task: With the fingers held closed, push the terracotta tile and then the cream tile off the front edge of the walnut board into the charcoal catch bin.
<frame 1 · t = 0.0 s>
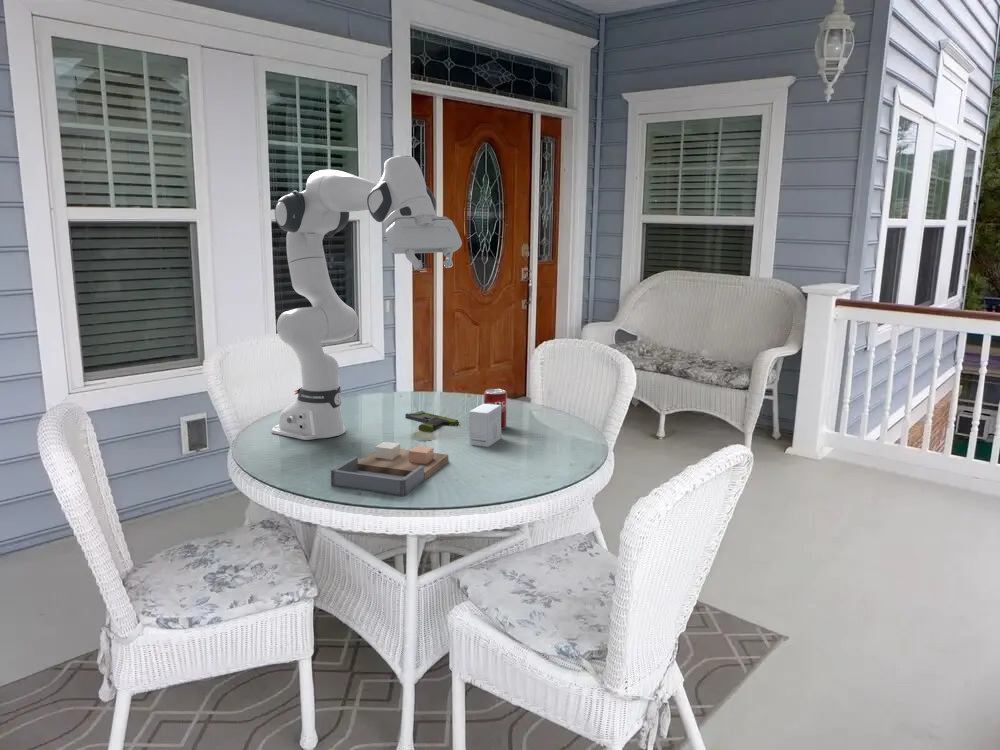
hand: (434, 267, 189), 54 cm above the table, tool tilted 30°, fingers open, 8 cm apart
skincare box: (485, 442, 234), on the table
terracotta tile: (421, 460, 209), point 2 cm above the table, touching walnut board
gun: (425, 424, 253), on the table
walnut board: (402, 466, 210), on the table
soda can: (494, 428, 249), on the table
catch bin: (378, 483, 197), on the table
cream tile: (387, 455, 212), point 2 cm above the table, touching walnut board
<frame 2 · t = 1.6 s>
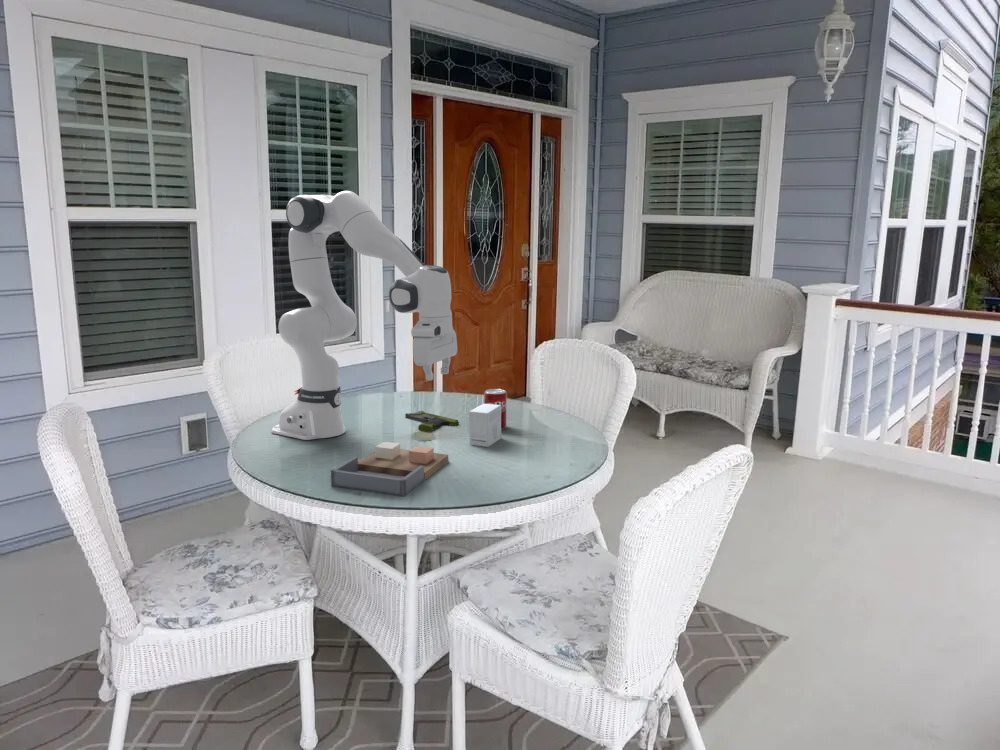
hand: (437, 377, 211), 24 cm above the table, tool pointing down, fingers open, 8 cm apart
nothing on the table moved.
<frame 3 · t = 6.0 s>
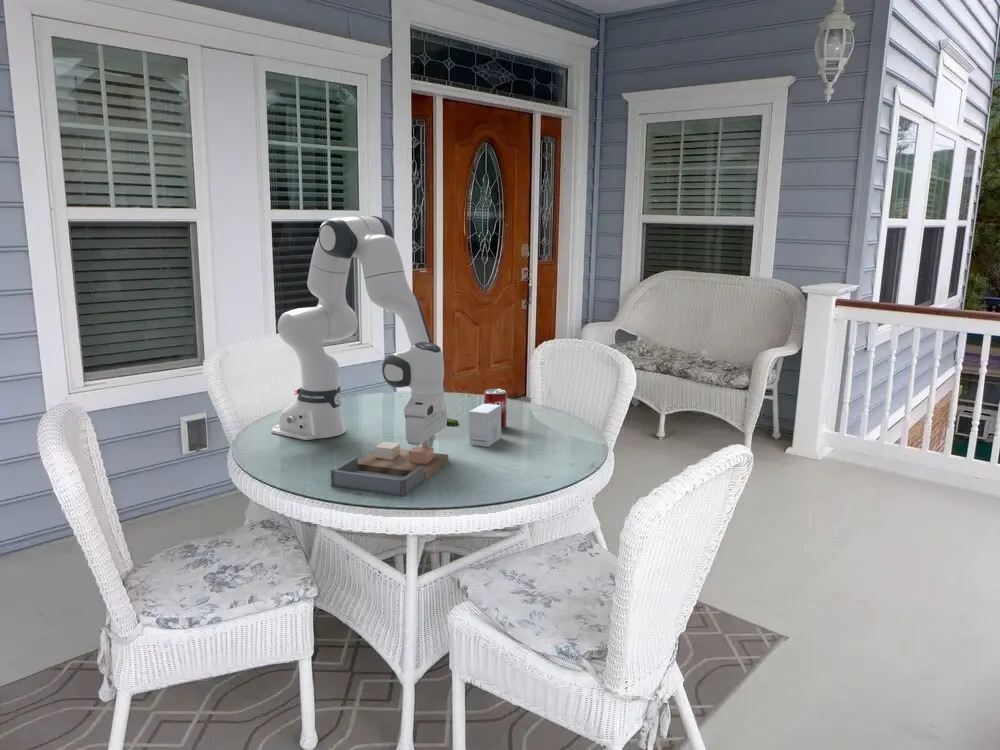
hand: (427, 451, 213), 3 cm above the table, tool pointing down, fingers closed
terracotta tile: (421, 460, 209), point 2 cm above the table, touching gripper, walnut board
everything else where it was.
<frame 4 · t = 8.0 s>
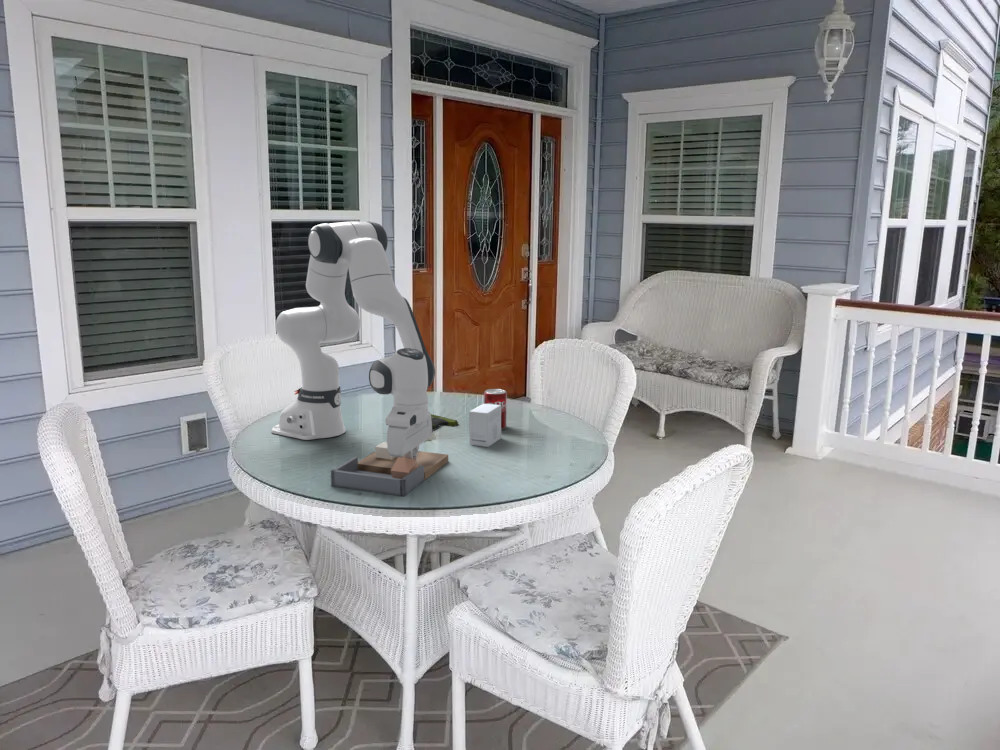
hand: (411, 463, 203), 3 cm above the table, tool pointing down, fingers closed
terracotta tile: (405, 473, 200), point 2 cm above the table, tilted 25°, touching gripper
everything else where it was.
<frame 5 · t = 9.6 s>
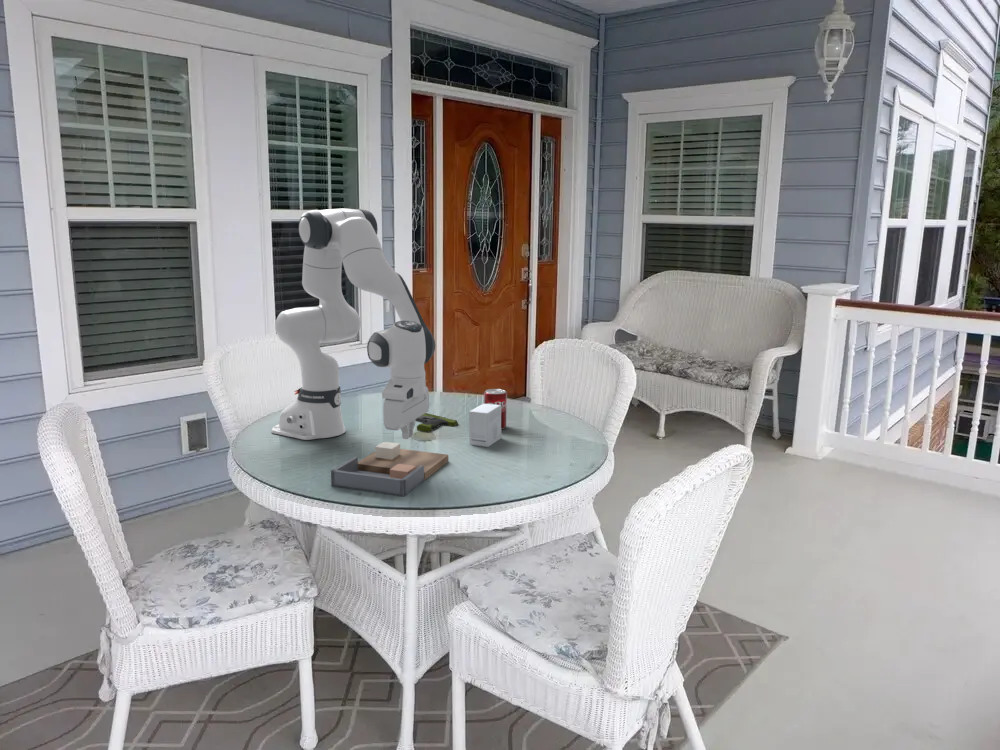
hand: (407, 437, 201), 10 cm above the table, tool pointing down, fingers closed
terracotta tile: (403, 478, 199), resting on catch bin
everything else where it was.
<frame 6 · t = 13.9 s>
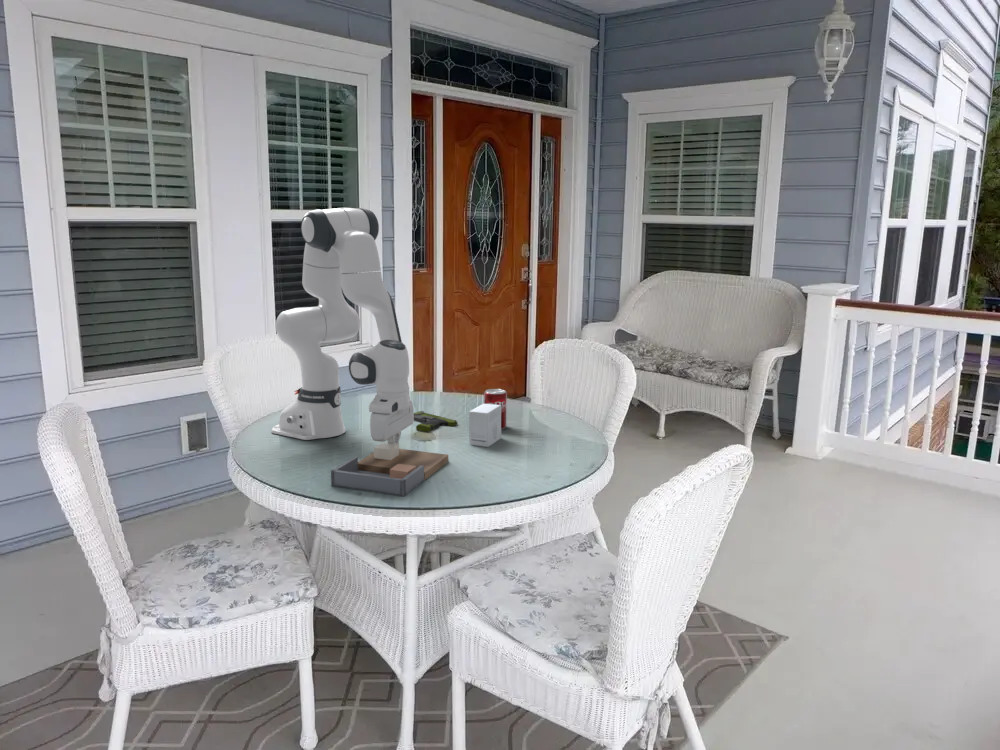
hand: (393, 448, 215), 3 cm above the table, tool pointing down, fingers closed
cream tile: (386, 456, 212), point 2 cm above the table, touching gripper
everything else where it was.
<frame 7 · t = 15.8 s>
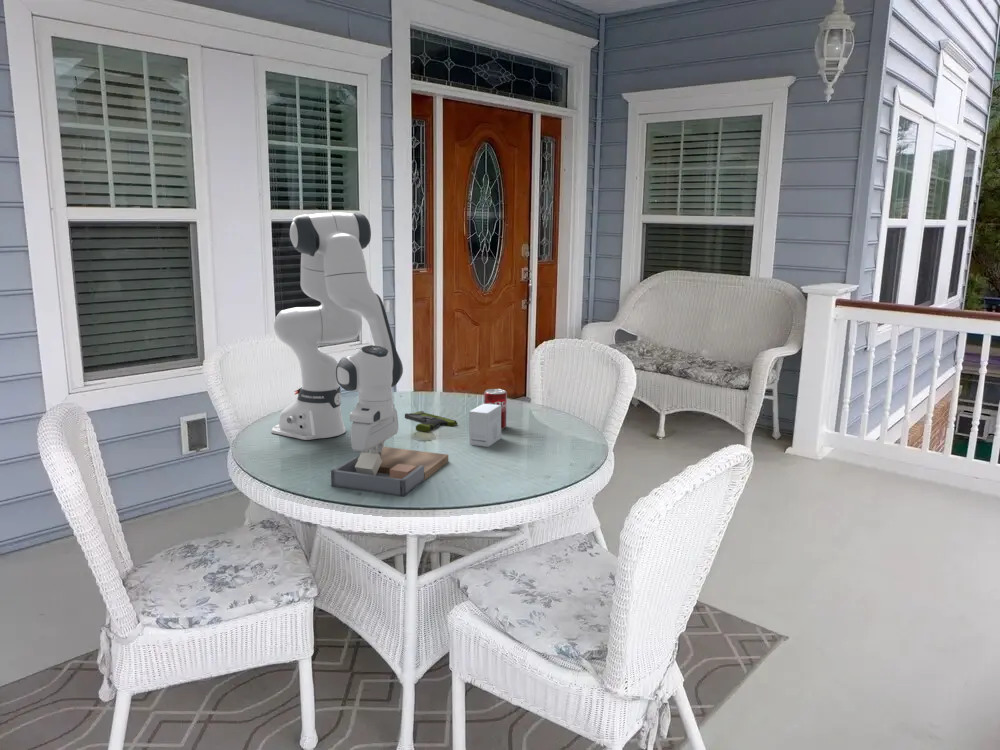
hand: (376, 459, 206), 3 cm above the table, tool pointing down, fingers closed
cream tile: (370, 467, 203), point 2 cm above the table, tilted 35°, touching catch bin, gripper
everything else where it was.
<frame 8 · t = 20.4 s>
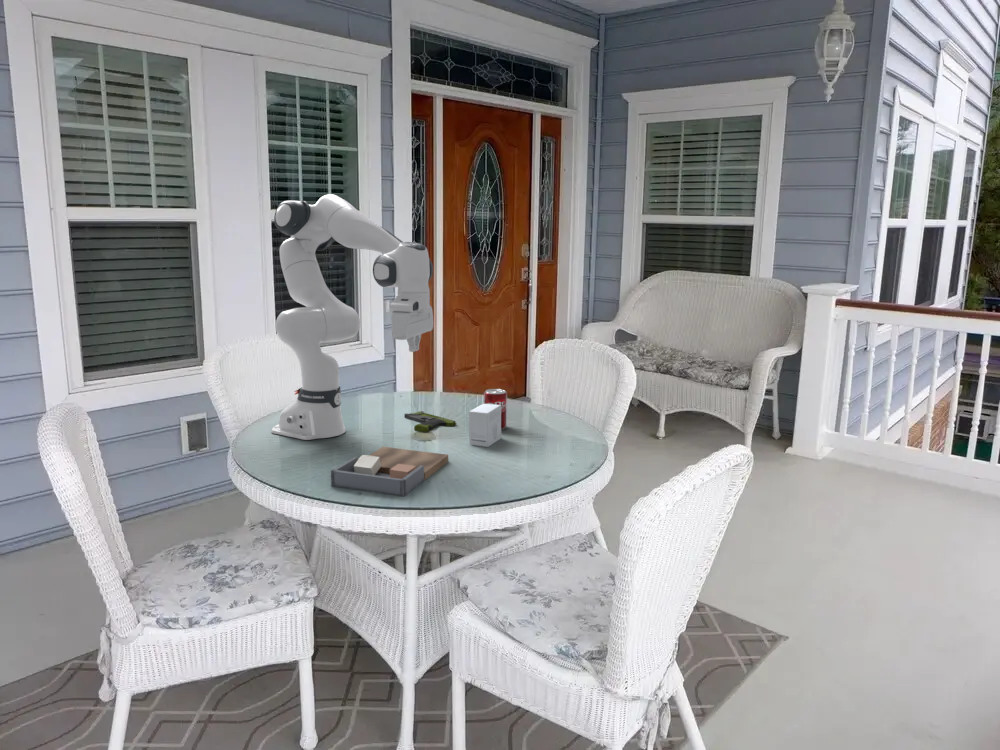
hand: (413, 351, 218), 29 cm above the table, tool pointing down, fingers closed
cream tile: (368, 470, 202), point 1 cm above the table, tilted 18°, touching catch bin, walnut board
everything else where it was.
at the end: terracotta tile inside the target area (6.6 cm from its centre), point 0.5 cm above the table; cream tile inside the target area (6.9 cm from its centre), point 1.3 cm above the table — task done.
